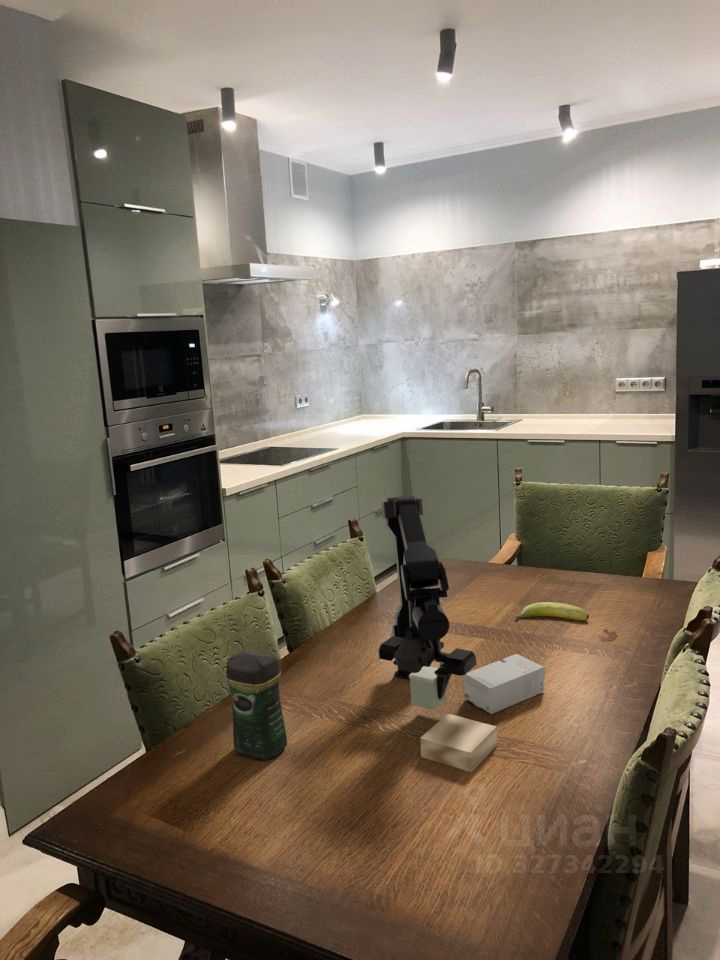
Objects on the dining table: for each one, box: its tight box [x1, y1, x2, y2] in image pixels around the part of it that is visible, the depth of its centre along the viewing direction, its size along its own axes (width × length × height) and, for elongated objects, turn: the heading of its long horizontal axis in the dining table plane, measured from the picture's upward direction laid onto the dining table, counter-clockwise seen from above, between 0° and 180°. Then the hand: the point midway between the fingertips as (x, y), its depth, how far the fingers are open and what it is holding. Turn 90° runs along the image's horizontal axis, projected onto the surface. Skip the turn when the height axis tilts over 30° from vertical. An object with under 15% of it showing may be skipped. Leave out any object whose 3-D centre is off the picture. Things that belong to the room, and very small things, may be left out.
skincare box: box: [463, 653, 546, 715], centre depth 157 cm, size 8×6×15 cm
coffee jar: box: [225, 650, 288, 760], centre depth 143 cm, size 10×8×19 cm
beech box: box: [419, 713, 498, 773], centre depth 139 cm, size 10×10×4 cm
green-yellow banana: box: [513, 600, 618, 643], centre depth 197 cm, size 35×27×4 cm
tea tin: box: [409, 666, 447, 711], centre depth 151 cm, size 5×5×6 cm
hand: (428, 695), depth 152 cm, fingers closed on tea tin, 5 cm apart
